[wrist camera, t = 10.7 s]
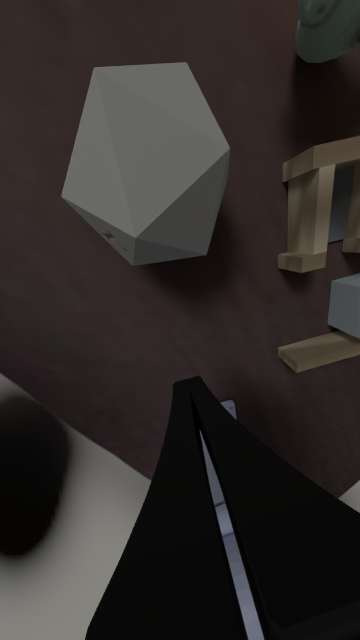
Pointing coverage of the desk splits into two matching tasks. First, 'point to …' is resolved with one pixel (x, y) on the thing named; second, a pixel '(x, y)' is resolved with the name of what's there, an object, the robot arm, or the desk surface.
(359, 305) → the grey block
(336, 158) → the channel
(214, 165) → the die
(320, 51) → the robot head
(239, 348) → the desk surface
